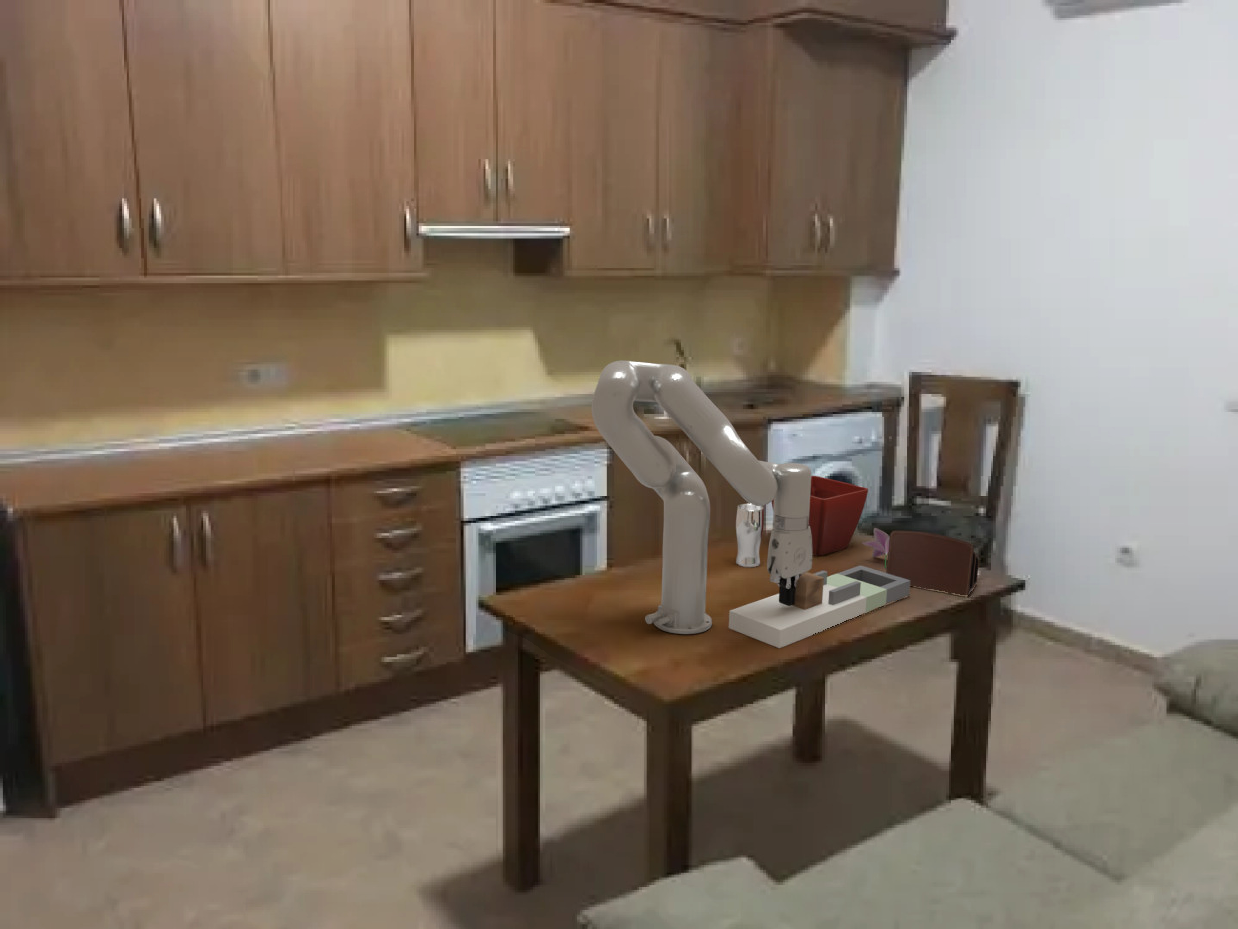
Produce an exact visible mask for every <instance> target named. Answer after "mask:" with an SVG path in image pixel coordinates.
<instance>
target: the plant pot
mask: <svg viewBox="0 0 1238 929" xmlns="http://www.w3.org/2000/svg"><path fill="white" fill-rule="evenodd" d="M868 493H869V488H867V487H863V486H859V485H855V484H852V483H849V482H843V481H841V480H840V481H839V480H835V479H831V478H827V477H822V476H818V475H811V491H810V510H809V526H810V529H811V535H812V556H823V555H826V554H830V553H834V552H837V551H841V550H844V549H847V548H848V546H849V545H850V543H851V540H852V538H853V536H854V534H855V532H856V529H857V527H858V524H859V522H860V519H861V516H862V514H863V511H864V508H865V504H866V501H867V497H868ZM771 506H772V510H773V509H774V499H773V500H772V502H771Z"/></svg>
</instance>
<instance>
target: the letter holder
mask: <svg viewBox="0 0 1238 929" xmlns="http://www.w3.org/2000/svg"><path fill="white" fill-rule="evenodd" d="M889 537H890V539H889V550H888V554H887V559H886V572H885V573H888V574H891V575H894V576H897V577H901V578H904V579H907V580H910V585H911V586H916V587H921V588H926V589H934V590H939V591H945V592H948V593H955V594H960V595H969V594H970V592H971V591H972V589H973V588H974V586H975V585H976V583H977V584H978V575H979V567H980V566H979V564H980V558H979V557H978V555H977V554H976V551H975V550H974V545H973V544H972V543H970V542H968V541H965V540H962V539H959V538H956V537H955V538H954V537H950V536H947V535H942V534H937V533H932V532H927V531H926V532H925V531H913V530H893V531H891V532H890V534H889ZM976 586H977V585H976ZM974 589H975V588H974ZM972 592H973V591H972ZM972 592H971V593H972ZM970 595H971V594H970ZM970 595H969V596H970Z"/></svg>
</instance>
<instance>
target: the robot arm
mask: <svg viewBox="0 0 1238 929" xmlns="http://www.w3.org/2000/svg"><path fill="white" fill-rule="evenodd" d="M635 401H636V402H647V403H648V402H650V403H657V404H658V405H659V407H661V409H662V410H663V411H664V412H665V413H666V414H667V415H668V416H669V418H671V419H672V421H673V422H674V423H675V424H676V425H677V426H678V427H679V428H680V429H681V431H682V432H684V434H686V436H687V437H688V438H689V440H691V441H692V442H693V444H694V445H695V446H696V447H697V449H699V450H700V452H701V453H702V455H704V457H705V458H707V459H708V461H709V462H711V464H712V465H713V466H714V467H715V468H716V469H717V471H718V472H719V473H720V474H721V475H722V477H724V479H725V480H726V481H727V482H728V484H730V486H732V488H733V489H735V491H736V492H737V493H738V494H739V495H740V496H741V497H742V498H743V499H744V500H745V501H746V502H747V504H752V505H756V506H763V507H764V506H766V505H769V504H770V503H772V500H773V499H774V509H773V508H772V512H773V513H772V515H773V516H772V529H771V532H770V537H769V543H768V550H767V565H766V566H767V572H768V574H770V576H769V582H771V583H773V584H774V583H775V584H777V586H778V588H779V589H778V590H779V591H778V592H779V593H778V594H779V602H780V603H782V604H785V605H787V606H791V605H794V604H795V594H796V586H797V585H798V580H799V578H800V576H801V575H802V574H804V573H805V572H809V571H810V570H811V569H812V568H813V567H812V566H813V554H812V535H811V529H810V526H809V510H810V491H811V476H812V470H811V469H810V467H809V466H808V465H806V464H803V463H796V462H786V463H777V462H776V463H775V462H770V461H764V460H758V459H757V457H756V456H755V455H754V454H753V453H752V452H751V450H750V449H749V448H748V446H746V444H745V443H744V441H742V439H741V437H740V436H739V435H738V432H737V431H736V429H735V427H734V426H733V425H732V423H731V422H730V420H729V419H728V418H727V417H726V415H725V414H724V413H723V412H722V411H721V410H720V409H719V408H718V407H717V406H716V404H715V403H713V401H712V400H711V399H710V398H709V397H708V396H707V395H706V394H705V392H704V391H703V390H702V389H701V388H700V387H699V385H698V384H696V382H695V381H694V380H693V379H692V377H691V375H690V373H689V371H687V370H686V369H685V368H684V367H681V366H679V365H676V364H666V363H652V362H644V361H632V360H616V361H612V362H610V363H608V364H607V365H606V366H605V367H604V368H603V369H602V371H601V373H600V375H599V378H598V381H597V384H596V388H595V390H594V393H593V396H592V402H591V415H592V419H593V423H594V425H595V427H596V429H597V431H598V433H599V434H600V435H601V436H602V438H603V440H605V442H606V443H607V444H608V446H609V447H610V448H611V449H612V450H613V451H614V452H615V454H616V455H617V456H618V458H619V459H620V460H621V461H622V462H623V464H624V465H625V466H626V468H628V470H629V471H630V472H631V474H632V475H633V476H634V477H635V479H636V480H637V481H638V482H639V483H640V484H641V485H643V486H645V487H646V488H650V489H653V490H654V492H656V493H657V495H658V496H659V497H660V498H661V500H662V501H663V532H662V571H661V572H662V573H661V576H662V577H661V578H662V579H661V601H660V602H661V603H660V604H659V605H657V610H656V611H655V613H650V614H646V615H645V617H644V619H645V620H644V621H645V622H646V624H648V625H651V624H654V626H656V627H657V628H658V629H660V631H663V632H666V633H671V634H679V635H693V634H701V633H703V632H706V631H707V630H709V629H710V628H711V627H712V626H713V624H712V623H713V620H712V617H711V616H710V615H709V614H707V613H706V595H707V572H708V571H707V570H708V545H709V544H708V543H709V529H710V522H711V519H710V518H711V503H710V498H709V494H708V490H707V487H706V484H705V483H704V481H703V479H702V478H701V477H700V475H698V473H697V472H696V471H695V470H694V469H693V468H692V467H691V465H690V464H689V463H688V462H687V461H686V459H685V458H684V457H683V456H682V455H681V453H680V452H679V451H678V449H676V448H675V446H674V445H673V444H672V443H671V442H670V441H669V440H667V439H666V438H664V437H662V436H659V435H654V433H653V432H652V431H651V430H650V429H649V428H648V426H647V425H646V423H645V422H644V421H643V420H642V419H641V418H640V417H639V416H638V415H637V414H636V413H635V410H634V402H635Z"/></svg>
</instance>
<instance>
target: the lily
mask: <svg viewBox="0 0 1238 929" xmlns="http://www.w3.org/2000/svg"><path fill="white" fill-rule="evenodd" d="M873 536H874V537H873V538H874V540H869V541H863V542H862V544H863V545H865V546H867V547H870V548H873V549H872V555H871V556H872V557H873V558H879V557H880V556H881V557H882V556H884V555H885V556H884V569H887V558H888V550H889V539H890V535H889V534H887V533H886V532H885V531H883V530H881V529H880V528H877V527H874V528H873Z"/></svg>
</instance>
